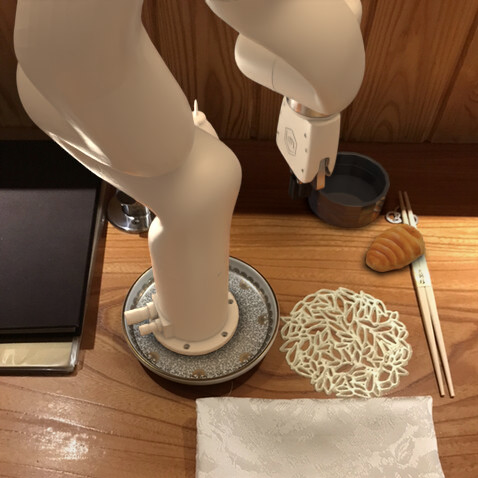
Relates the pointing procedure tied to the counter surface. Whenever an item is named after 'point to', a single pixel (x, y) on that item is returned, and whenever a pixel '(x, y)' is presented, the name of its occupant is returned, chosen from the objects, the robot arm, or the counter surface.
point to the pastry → (395, 248)
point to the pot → (351, 191)
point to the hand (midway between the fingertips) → (299, 194)
